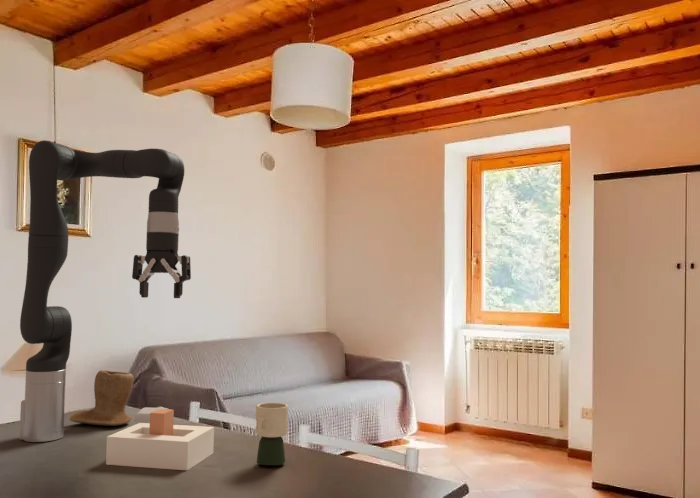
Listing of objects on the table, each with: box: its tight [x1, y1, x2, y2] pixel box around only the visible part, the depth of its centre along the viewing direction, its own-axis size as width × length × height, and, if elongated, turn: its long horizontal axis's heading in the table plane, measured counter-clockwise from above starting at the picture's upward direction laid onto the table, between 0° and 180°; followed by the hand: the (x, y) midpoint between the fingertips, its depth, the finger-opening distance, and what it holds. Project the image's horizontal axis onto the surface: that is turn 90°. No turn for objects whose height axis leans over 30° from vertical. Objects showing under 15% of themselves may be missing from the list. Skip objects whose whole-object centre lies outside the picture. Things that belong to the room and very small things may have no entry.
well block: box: [105, 423, 215, 471], centre depth 142 cm, size 19×14×6 cm
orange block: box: [149, 408, 175, 436], centre depth 142 cm, size 4×4×10 cm
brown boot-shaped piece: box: [68, 369, 135, 427], centre depth 175 cm, size 15×12×15 cm
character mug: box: [255, 402, 289, 468], centre depth 138 cm, size 11×7×13 cm, turn 154°
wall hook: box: [134, 406, 169, 425], centre depth 158 cm, size 8×10×10 cm
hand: (160, 297), depth 152 cm, fingers open, 8 cm apart
